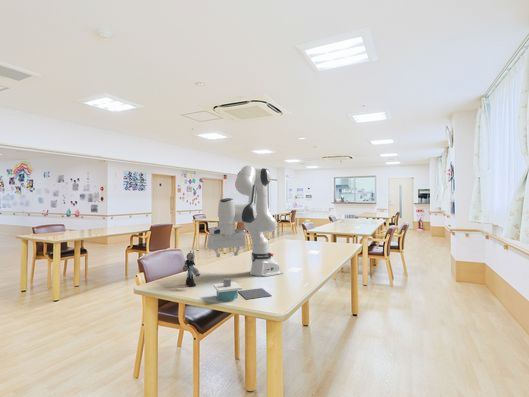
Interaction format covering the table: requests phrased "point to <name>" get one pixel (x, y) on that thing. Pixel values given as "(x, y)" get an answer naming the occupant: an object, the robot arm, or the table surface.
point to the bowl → (227, 295)
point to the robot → (190, 269)
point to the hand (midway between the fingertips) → (227, 256)
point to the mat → (254, 293)
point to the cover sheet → (227, 286)
